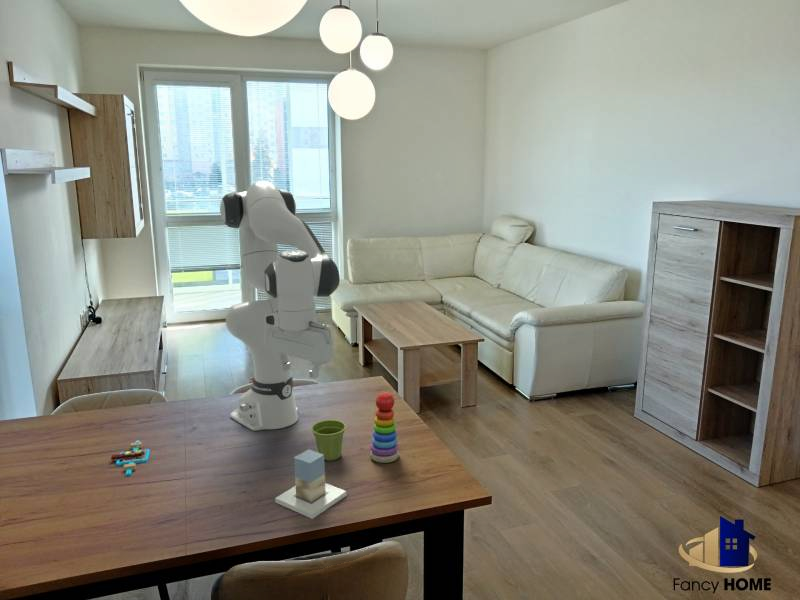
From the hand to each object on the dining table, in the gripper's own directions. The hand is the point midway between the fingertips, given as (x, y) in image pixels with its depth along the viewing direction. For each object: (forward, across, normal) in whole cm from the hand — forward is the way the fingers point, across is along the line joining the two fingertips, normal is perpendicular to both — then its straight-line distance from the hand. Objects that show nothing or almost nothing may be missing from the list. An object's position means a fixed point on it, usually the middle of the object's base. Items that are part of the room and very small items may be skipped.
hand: (299, 373), depth 148 cm
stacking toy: (+29, -9, -22) cm, 38 cm away
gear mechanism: (+30, +48, +18) cm, 60 cm away
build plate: (+29, -7, +5) cm, 30 cm away
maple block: (+28, -7, +5) cm, 29 cm away
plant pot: (+29, +4, -14) cm, 33 cm away
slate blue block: (+23, -7, +5) cm, 24 cm away
